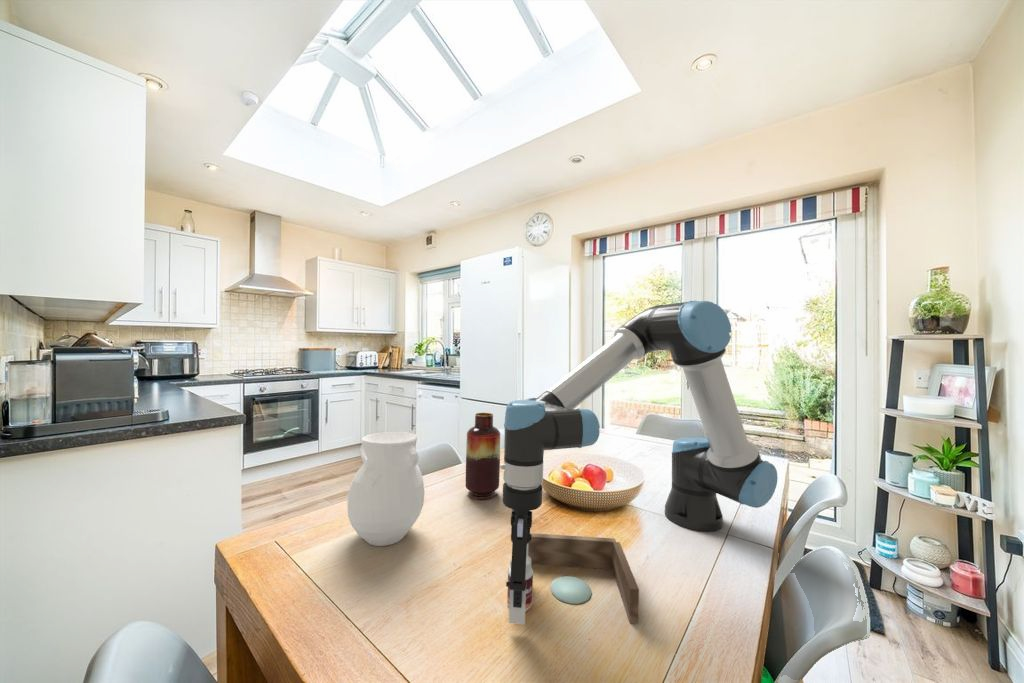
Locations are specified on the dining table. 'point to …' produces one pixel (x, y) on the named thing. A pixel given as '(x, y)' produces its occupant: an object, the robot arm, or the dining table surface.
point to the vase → (482, 458)
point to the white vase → (386, 488)
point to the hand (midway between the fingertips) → (519, 595)
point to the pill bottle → (528, 583)
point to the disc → (571, 590)
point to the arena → (589, 561)
